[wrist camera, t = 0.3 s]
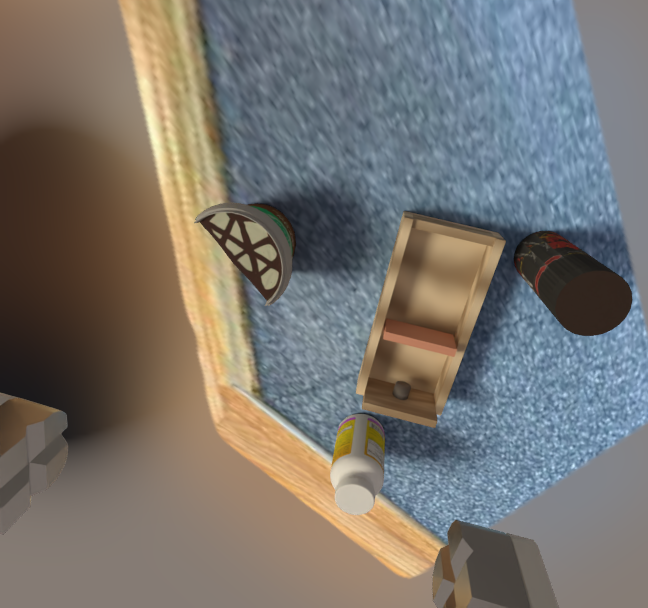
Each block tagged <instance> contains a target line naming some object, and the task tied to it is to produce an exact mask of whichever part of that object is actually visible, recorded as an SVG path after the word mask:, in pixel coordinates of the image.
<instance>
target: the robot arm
mask: <svg viewBox="0 0 648 608" xmlns="http://www.w3.org/2000/svg"><path fill="white" fill-rule="evenodd" d="M66 428H67V416H66V414H65V413H64V412H62V411H60V410H57V409H54V408H51V407H47V406H44V405H41V404H38V403H34V402H31V401H28V400H25V399H21V398H16V397H13V396H9V395H6V394H3V393H0V534H4V533H6V532H7V531H8V529H10V527H11V526H12V525H13V524H14V523H15V522H16V521H17V520H18V519H19V518H20V517H21V516H22V515H23V514H24V513H25V512H26V511H27V510H28V509H29V508H30V505H31V496H33V495H35V494H37V493H40V492H42V491H45V490H47V489H48V488H49V487H50V486H51V485H52V483H53V482H54V481H55V480H56V479H57V478H58V476H59V474H60V472H61V471H62V469H63V467H64V465H65V463H66V458H67V454H68V444H67V442H66V441H65V439H64V438H63V436H62V435H61V433H62V432H63V431H64V430H65V429H66ZM447 534H448V543H449V545H447V546H445V547H443V548H441V549H440V551H439V553H438V556H437V559H436V561H435V566H434V572H433V583H432V591H433V602H434V603H435V605H436V606H437V608H559V606H558V603H557V600H556V597H555V594H554V592H553V589H552V586H551V583H550V580H549V577H548V574H547V571H546V568H545V565H544V563H543V560H542V557H541V554H540V551H539V548H538V545H537V544H536V543H535V542H534V540H531V539H528V538H524V537H520V536H516V535H512V534H509V533H506V534H505V533H504V532H500V531H497V530H493V529H489V528H485V527H482V526H478V525H474V524H470V523H467V522H463V521H459V520H455V521H454V522H453V523H452V524H451V526H450V528H449V530H448V533H447Z"/></svg>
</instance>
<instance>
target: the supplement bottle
mask: <svg viewBox="0 0 648 608" xmlns="http://www.w3.org/2000/svg"><path fill="white" fill-rule="evenodd" d="M384 452H385V433H384V429H383V427H382V425H381V424H380V422H379V421H378V420H376V419H375V418H373V417H372V416H369V415H366V414H354V415H350V416H348V417H347V418H345V419H344V420H343V421H342V422H341V424H340V426H339V428H338V433H337V439H336V444H335V450H334V455H333V461H332V466H331V473H330V478H331V483H332V485H333V487H334V489H335V502H336V504H337V506H338V507H339V508H340V509H341V510H343V511H344V512H346V513H349V514H352V515H361V514H365V513H367V512H369V511H370V510H371V509H372V508H373V506H374V502H375V496H376V495H377V494H378V493H379V492H380V490H381V488H382V486H383V481H384Z"/></svg>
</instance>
